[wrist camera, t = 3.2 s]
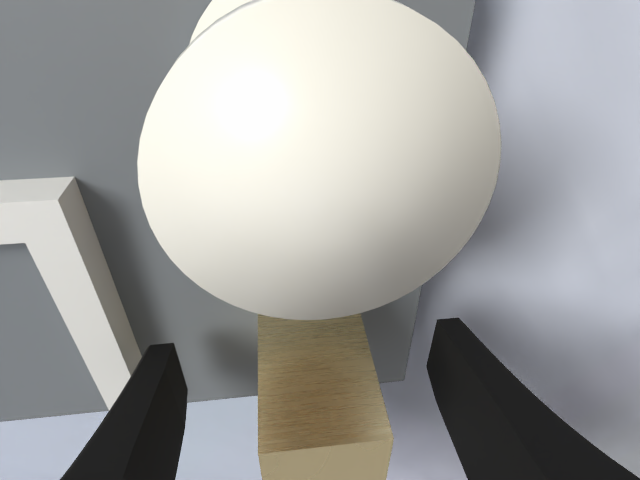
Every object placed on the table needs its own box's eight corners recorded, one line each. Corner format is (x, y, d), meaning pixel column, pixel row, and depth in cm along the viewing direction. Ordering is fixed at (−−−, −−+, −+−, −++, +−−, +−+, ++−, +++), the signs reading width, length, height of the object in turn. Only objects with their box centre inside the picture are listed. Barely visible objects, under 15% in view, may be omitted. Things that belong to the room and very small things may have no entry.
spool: (391, 175, 10) (462, 307, 7) (206, 185, 10) (178, 332, 6) (415, -42, 8) (550, -12, 4) (167, -40, 7) (83, -6, 4)
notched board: (393, 347, 17) (411, 405, 15) (-53, 389, 15) (-100, 460, 13) (456, -65, 9) (513, -60, 7) (-434, -63, 7) (-688, -58, 5)
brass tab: (343, 359, 14) (377, 528, 10) (267, 366, 14) (272, 541, 10) (348, 267, 12) (393, 438, 8) (257, 273, 12) (258, 454, 8)
